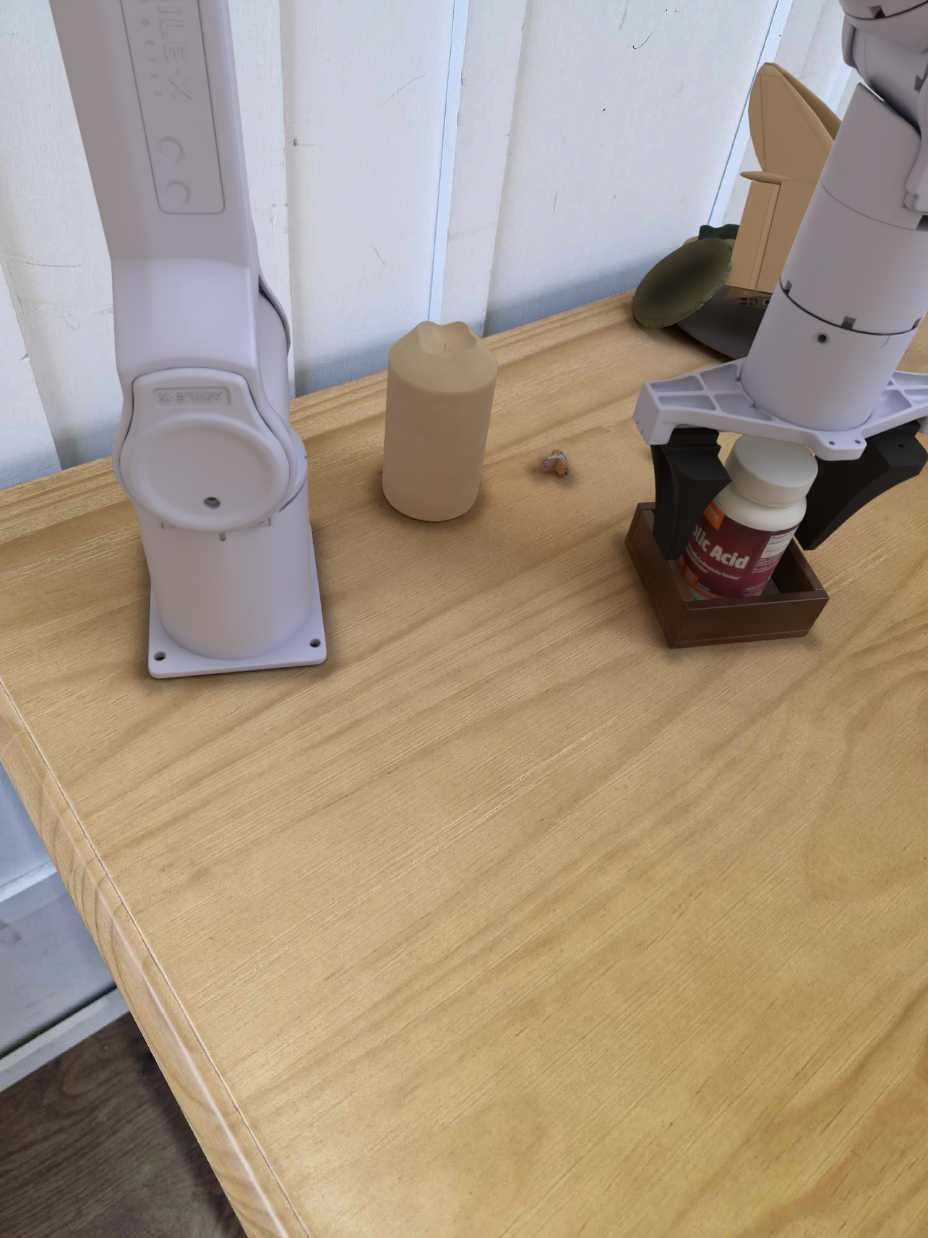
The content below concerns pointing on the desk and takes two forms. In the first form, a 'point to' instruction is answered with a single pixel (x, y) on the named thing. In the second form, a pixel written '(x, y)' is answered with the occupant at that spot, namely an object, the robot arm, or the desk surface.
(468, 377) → the candle
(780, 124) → the toy
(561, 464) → the figurine
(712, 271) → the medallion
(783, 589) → the dark brown square box
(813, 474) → the pill bottle
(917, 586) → the desk surface
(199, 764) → the desk surface
